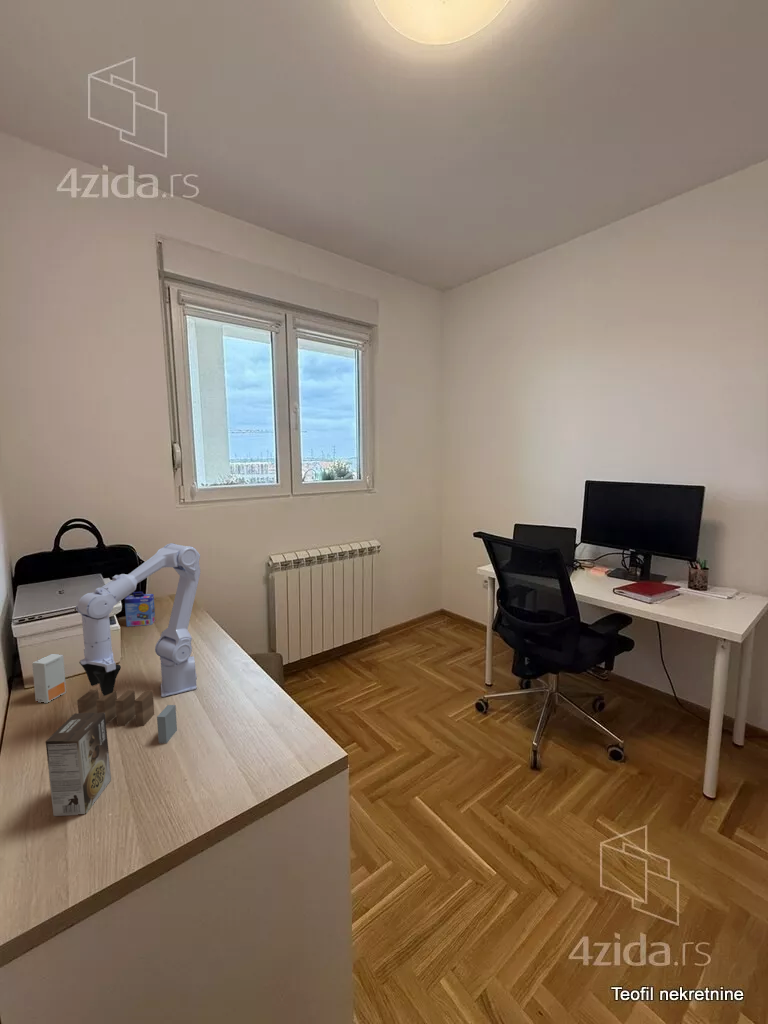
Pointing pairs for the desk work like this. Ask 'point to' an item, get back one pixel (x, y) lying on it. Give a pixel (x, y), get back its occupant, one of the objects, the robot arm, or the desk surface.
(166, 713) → the domino
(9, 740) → the desk surface
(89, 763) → the coffee box
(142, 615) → the ink cartridge box
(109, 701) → the domino
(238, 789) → the desk surface
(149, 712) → the domino
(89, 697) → the domino
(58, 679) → the skincare box
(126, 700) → the domino
